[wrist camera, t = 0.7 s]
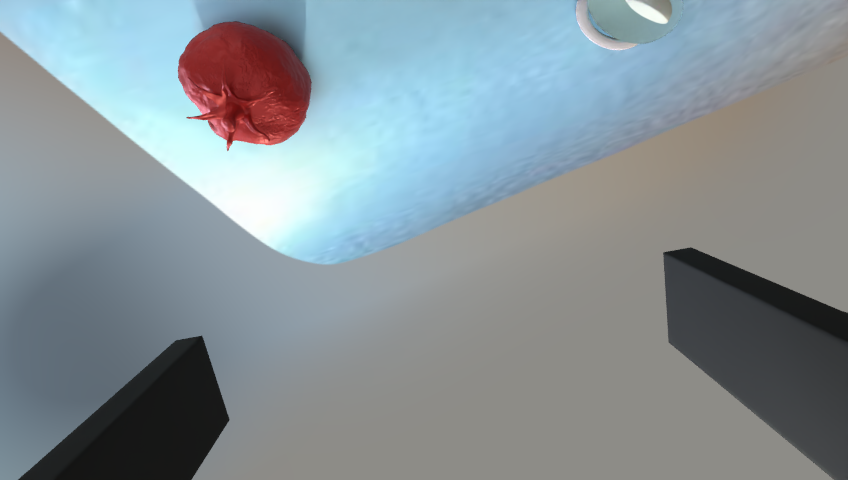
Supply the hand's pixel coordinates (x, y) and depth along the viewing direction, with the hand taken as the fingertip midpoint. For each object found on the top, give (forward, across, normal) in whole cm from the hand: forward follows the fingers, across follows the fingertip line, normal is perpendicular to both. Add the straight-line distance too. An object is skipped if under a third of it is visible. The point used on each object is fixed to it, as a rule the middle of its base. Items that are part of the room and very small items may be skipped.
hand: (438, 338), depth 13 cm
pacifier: (+26, +18, +12) cm, 34 cm away
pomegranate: (+31, -12, +13) cm, 36 cm away
